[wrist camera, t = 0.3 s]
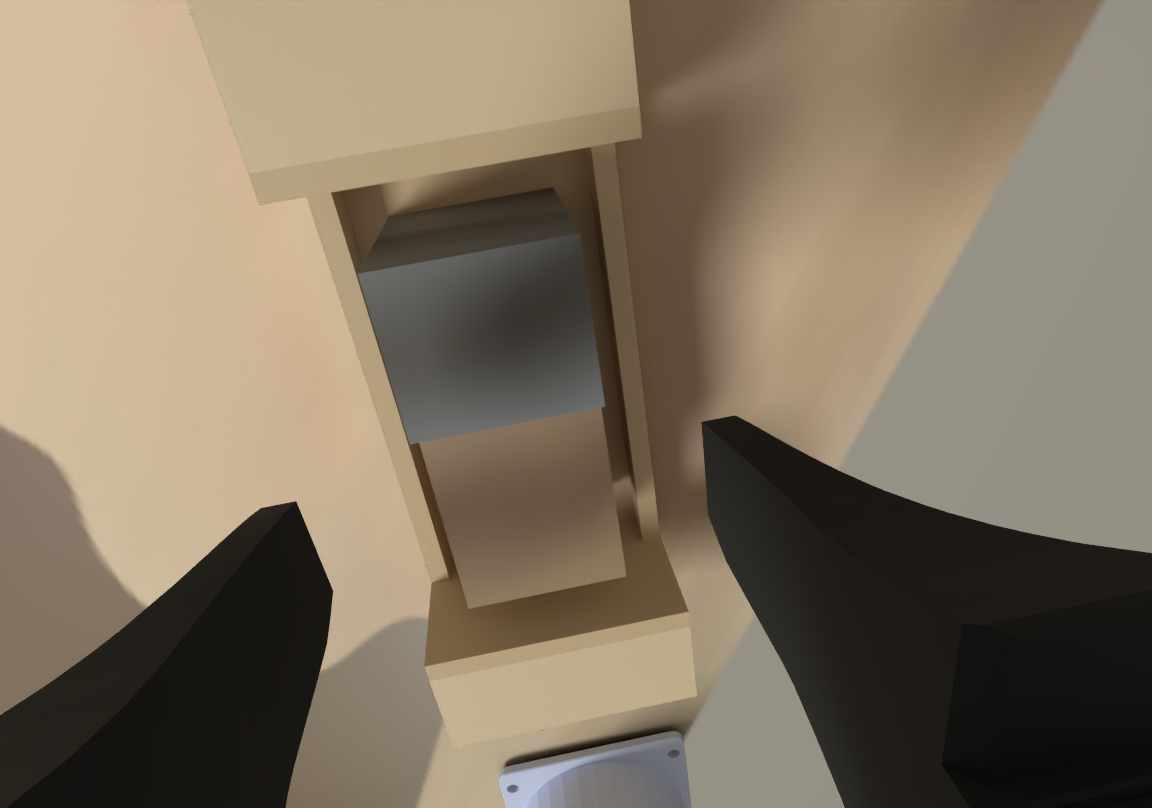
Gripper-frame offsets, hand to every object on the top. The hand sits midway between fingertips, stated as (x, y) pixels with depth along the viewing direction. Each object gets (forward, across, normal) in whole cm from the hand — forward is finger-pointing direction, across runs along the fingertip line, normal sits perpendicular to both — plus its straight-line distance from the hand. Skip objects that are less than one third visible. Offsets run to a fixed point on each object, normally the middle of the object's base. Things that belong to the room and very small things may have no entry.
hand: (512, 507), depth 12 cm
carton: (+9, 0, +1) cm, 9 cm away
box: (+9, 0, +1) cm, 9 cm away
